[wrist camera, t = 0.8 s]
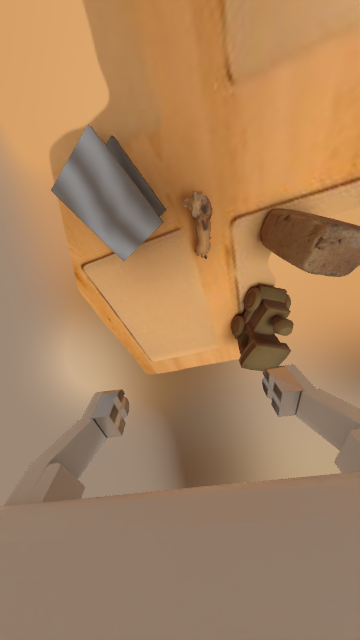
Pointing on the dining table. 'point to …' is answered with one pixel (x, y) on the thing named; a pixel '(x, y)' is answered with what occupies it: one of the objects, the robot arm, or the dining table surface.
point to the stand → (109, 194)
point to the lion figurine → (200, 220)
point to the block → (313, 242)
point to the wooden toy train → (263, 328)
